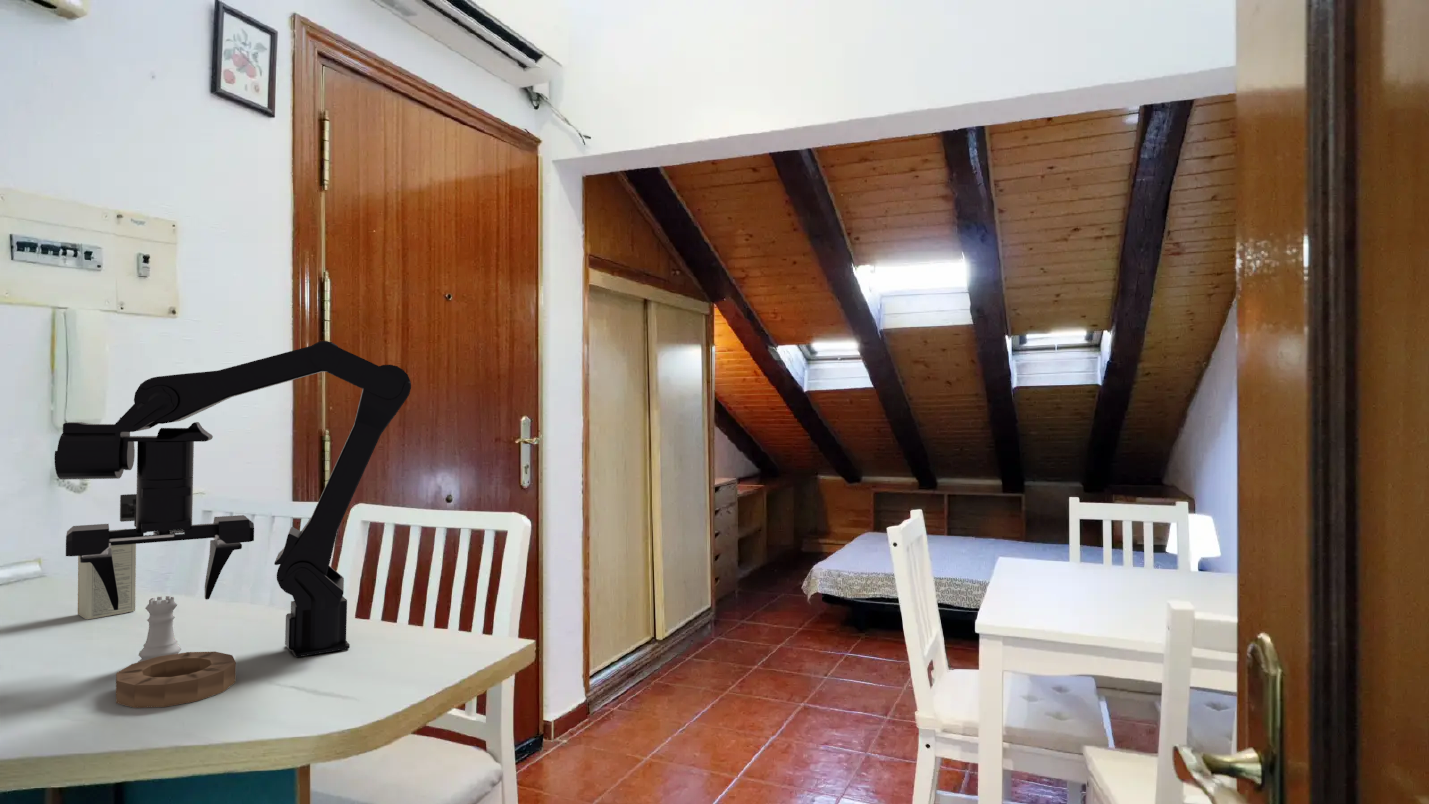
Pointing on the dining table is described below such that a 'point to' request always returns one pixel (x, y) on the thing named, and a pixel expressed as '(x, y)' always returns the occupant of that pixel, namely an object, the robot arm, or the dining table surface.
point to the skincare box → (94, 592)
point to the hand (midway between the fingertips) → (162, 604)
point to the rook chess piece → (160, 629)
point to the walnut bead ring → (175, 679)
